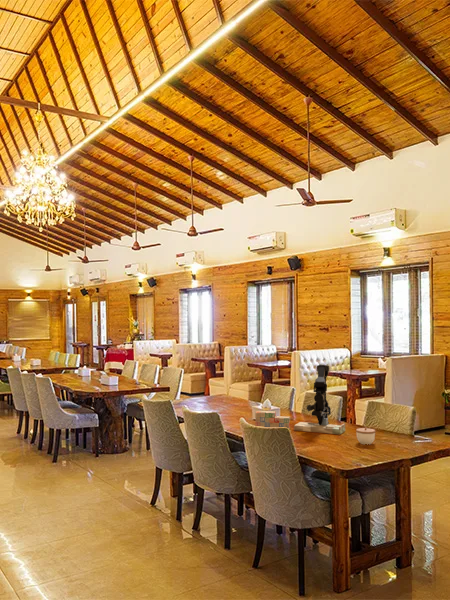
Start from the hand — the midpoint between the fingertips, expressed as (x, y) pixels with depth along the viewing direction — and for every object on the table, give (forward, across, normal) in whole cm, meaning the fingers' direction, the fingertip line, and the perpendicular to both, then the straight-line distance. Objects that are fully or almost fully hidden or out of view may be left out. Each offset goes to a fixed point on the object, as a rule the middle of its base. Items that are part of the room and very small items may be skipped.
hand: (320, 425), depth 357 cm
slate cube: (0, -4, +1) cm, 4 cm away
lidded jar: (+4, +24, +34) cm, 41 cm away
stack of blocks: (+4, +15, -27) cm, 31 cm away
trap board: (+3, 0, 0) cm, 3 cm away
